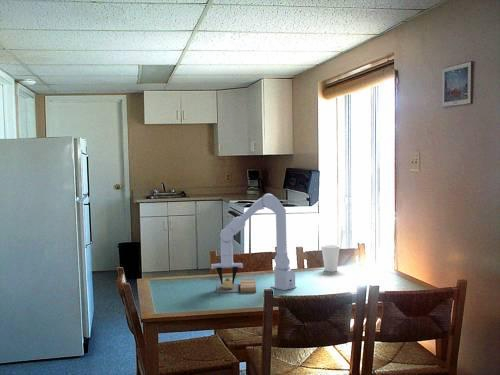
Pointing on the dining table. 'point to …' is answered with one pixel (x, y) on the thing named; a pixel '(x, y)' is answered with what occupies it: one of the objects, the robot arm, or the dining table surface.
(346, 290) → the dining table surface
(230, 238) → the robot arm
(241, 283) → the body
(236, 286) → the mat
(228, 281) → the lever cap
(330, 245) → the foam cup
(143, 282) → the dining table surface
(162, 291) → the dining table surface
